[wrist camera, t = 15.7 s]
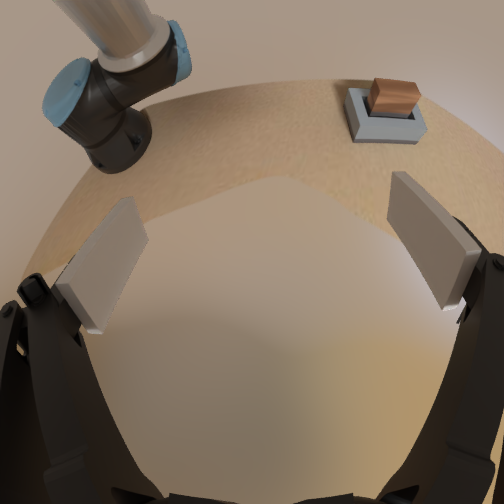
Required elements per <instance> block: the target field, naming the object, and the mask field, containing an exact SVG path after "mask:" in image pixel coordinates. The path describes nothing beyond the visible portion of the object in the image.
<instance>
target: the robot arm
mask: <svg viewBox="0 0 504 504" xmlns="http://www.w3.org/2000/svg"><path fill="white" fill-rule="evenodd" d="M53 1H54V2H55V3H56V4H57V5H58V6H59V7H60V8H61V9H62V10H63V11H64V12H65V14H66V15H67V16H69V18H70V19H71V20H72V21H73V22H74V23H75V24H76V25H77V26H78V27H79V28H80V29H81V30H82V31H83V32H84V33H85V34H86V35H87V36H88V37H89V38H90V39H91V40H92V42H93V43H94V44H96V46H97V47H98V48H99V50H98V58H97V59H95V60H93V61H92V62H90V60H89V59H86V58H79V59H76V60H74V61H72V62H71V63H69V64H68V65H67V66H66V67H65V68H64V69H63V70H61V72H60V73H59V74H58V75H57V76H56V77H55V79H54V80H53V81H52V83H51V85H50V86H49V88H48V90H47V92H46V94H45V97H44V100H43V106H42V109H43V114H44V115H45V117H46V118H47V119H48V120H49V121H50V122H51V123H52V124H53V125H54V126H55V127H58V128H59V129H60V130H61V131H63V132H64V133H65V134H67V135H68V136H69V137H71V138H72V139H73V140H75V141H76V142H77V143H79V144H80V145H81V146H82V147H84V149H85V151H86V153H87V155H88V156H89V158H90V160H91V162H92V164H93V165H94V166H95V167H96V168H98V169H99V170H100V171H102V172H104V173H107V174H115V173H119V172H122V171H124V170H126V169H128V168H129V167H131V166H132V165H133V164H135V163H136V162H137V161H138V160H139V159H140V158H141V156H142V155H143V154H144V152H145V151H146V149H147V147H148V145H149V143H150V139H151V134H152V130H151V125H150V123H149V121H148V120H147V118H146V117H145V116H144V115H143V114H142V113H141V112H139V111H137V110H135V109H133V108H131V107H130V106H132V105H133V104H135V103H137V102H139V101H141V100H143V99H145V98H147V97H149V96H151V95H153V94H155V93H157V92H159V91H161V90H163V89H166V88H168V87H170V86H174V85H175V84H176V83H177V82H179V81H181V80H183V79H185V78H187V77H188V76H189V75H190V73H191V71H192V64H191V58H190V54H189V51H188V49H187V44H186V40H185V38H184V35H183V33H182V30H181V28H180V26H179V24H178V23H177V22H176V21H174V20H171V21H166V20H165V19H164V18H163V17H161V16H159V15H155V14H151V12H150V10H149V8H148V6H147V4H146V2H145V0H53ZM387 220H388V222H389V223H390V225H391V226H392V228H393V229H394V231H395V232H396V234H397V235H398V237H399V238H400V240H401V241H402V243H403V244H404V246H405V247H406V249H407V250H408V252H409V254H410V255H411V257H412V258H413V260H414V262H415V263H416V265H417V267H418V268H419V270H420V272H421V273H422V275H423V277H424V278H425V280H426V282H427V284H428V285H429V287H430V289H431V291H432V293H433V295H434V297H435V298H436V300H437V302H438V304H439V306H440V308H441V310H442V311H445V310H449V309H454V308H457V306H458V304H459V302H460V300H461V298H462V296H463V298H464V299H465V301H466V305H465V307H464V309H463V311H462V313H461V315H460V317H459V319H458V320H457V323H458V324H459V322H460V326H459V330H458V333H457V337H456V341H455V344H454V348H453V351H452V354H451V357H450V361H449V364H448V367H447V370H446V372H445V375H444V378H443V381H442V384H441V386H440V389H439V391H438V394H437V396H436V399H435V401H434V404H433V406H432V408H431V411H430V413H429V415H428V417H427V420H426V422H425V424H424V426H423V428H422V430H421V432H420V434H419V436H418V438H417V440H416V442H415V444H414V446H413V448H412V449H411V451H410V453H409V455H408V457H407V458H406V460H405V462H404V463H403V465H402V466H401V467H400V469H399V470H398V471H397V472H396V473H395V474H394V475H393V476H392V477H391V478H390V480H389V481H388V482H387V484H386V485H385V486H384V488H383V489H382V491H381V492H380V493H379V495H378V496H377V498H376V499H371V498H366V497H359V496H353V493H350V494H345V495H339V496H333V497H325V498H317V499H308V500H304V501H301V502H298V503H294V504H482V503H483V501H484V498H485V496H486V494H487V492H488V490H489V487H490V485H491V483H492V480H493V477H494V474H495V464H494V463H493V462H492V461H491V460H490V454H491V450H492V448H493V445H494V442H495V438H496V435H497V432H498V428H499V425H500V421H501V417H502V414H503V409H504V256H502V255H500V254H496V253H491V254H490V253H489V252H488V251H487V249H486V248H485V247H484V246H483V245H482V243H481V242H480V241H479V240H478V239H477V238H476V237H475V236H474V234H473V233H472V232H471V231H470V230H469V229H468V228H467V227H466V225H465V224H464V223H463V222H461V221H460V220H458V219H457V218H455V217H454V216H451V215H450V214H449V212H448V211H447V210H446V209H445V208H444V207H443V206H442V205H441V204H440V203H439V202H438V201H437V200H436V199H435V198H433V197H432V196H431V195H430V194H429V193H428V192H427V191H426V190H425V189H424V188H423V187H422V186H421V185H420V184H419V183H417V182H416V181H415V180H414V179H413V178H412V177H411V176H410V175H408V174H407V173H406V172H392V179H391V189H390V198H389V207H388V214H387ZM147 242H148V237H147V234H146V232H145V229H144V226H143V223H142V220H141V218H140V215H139V212H138V209H137V206H136V203H135V200H134V197H133V196H132V197H127V198H122V199H121V200H120V201H119V202H118V203H117V204H116V205H115V206H114V207H113V209H112V210H111V211H110V212H109V213H108V214H107V216H106V217H105V218H104V219H103V220H102V222H101V223H100V224H99V225H98V226H97V228H96V229H95V230H94V231H93V233H92V234H91V235H90V236H89V238H88V239H87V240H86V241H85V243H84V244H83V245H82V247H81V248H80V249H79V251H78V252H77V253H76V254H75V255H74V256H73V257H72V259H71V260H70V262H69V263H68V265H67V266H66V267H65V269H64V271H62V273H61V274H60V276H59V277H58V279H57V280H56V282H55V283H54V284H53V286H52V287H51V289H50V288H49V287H48V285H47V284H46V282H45V280H44V279H43V277H42V275H41V274H40V273H34V274H32V275H30V276H28V277H27V278H26V279H24V280H23V282H22V283H21V284H20V285H19V287H18V289H17V293H18V294H19V296H20V297H21V299H22V300H23V302H24V303H25V304H26V306H27V307H25V308H21V307H20V306H19V304H18V303H17V301H15V300H13V301H10V302H8V303H6V304H5V305H4V306H3V307H2V309H1V311H0V504H237V503H234V502H227V501H220V500H214V499H206V498H198V497H190V496H184V495H177V494H172V493H170V494H169V497H167V498H164V497H163V496H162V494H161V493H160V491H159V490H158V489H157V487H156V486H155V485H154V484H153V483H152V482H151V481H150V480H149V479H148V478H147V477H146V476H144V474H143V473H142V472H141V471H140V469H139V468H138V466H137V464H136V462H135V461H134V459H133V457H132V455H131V454H130V451H129V450H128V448H127V446H126V444H125V442H124V440H123V438H122V436H121V434H120V432H119V430H118V428H117V426H116V424H115V421H114V419H113V417H112V415H111V413H110V410H109V408H108V406H107V403H106V401H105V399H104V396H103V394H102V391H101V388H100V386H99V383H98V381H97V378H96V375H95V372H94V370H93V367H92V364H91V361H90V358H89V355H88V352H87V348H86V345H85V342H84V339H83V336H82V334H81V333H80V331H79V328H80V326H81V324H82V325H83V326H84V327H85V329H86V330H87V331H88V333H93V334H103V332H104V329H105V327H106V325H107V323H108V320H109V318H110V316H111V314H112V312H113V309H114V307H115V305H116V303H117V301H118V299H119V297H120V295H121V293H122V290H123V288H124V286H125V284H126V282H127V280H128V278H129V276H130V274H131V272H132V270H133V268H134V266H135V265H136V263H137V261H138V259H139V257H140V255H141V253H142V251H143V249H144V248H145V246H146V244H147ZM460 320H461V321H460ZM17 344H18V345H19V346H20V347H21V348H22V349H23V351H24V355H21V354H20V353H19V352H18V351H17ZM492 504H504V437H503V445H502V453H501V459H500V464H499V470H498V475H497V479H496V485H495V489H494V494H493V500H492Z"/></svg>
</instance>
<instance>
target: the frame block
mask: <svg viewBox="0 0 504 504" xmlns="http://www.w3.org/2000/svg"><path fill="white" fill-rule="evenodd" d="M370 90H371V89H363V88H348V91H347V95H346V98H345V102H344V105H343V107H344V110H345V114H346V117H347V121H348V125H349V128H350V132H351V136H352V140H353V143H396V144H417V142H418V141H419V140H420V139H421V137H422V136H423V135H424V134H425V132H426V131H427V127H426V125H425V122H424V119H423V117H422V114H421V112H420V109H419V107H418V105H417V103H416V105H415V106H414V108H413V110H412V111H411V113H410V114H409V116H408V118H407V119H397V118H380V117H368V115H367V112H366V109H365V103H366V100H367V98H368V95H369V92H370Z"/></svg>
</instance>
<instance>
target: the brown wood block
mask: <svg viewBox="0 0 504 504" xmlns="http://www.w3.org/2000/svg"><path fill="white" fill-rule="evenodd" d="M420 97H421V94H420V92H419V90H418V88H417V86H416V83H414V82H406V81H399V80H391V79H381V78H375V79H374V82H373V84H372V87H371V90H370V92H369V95H368V98H367V100H366V103H365V109H366V112H367V115H368V117H380V118H397V119H407V118H408V116H409V114H410V113H411V111H412V110H413V108H414V106H415V105H416V103H417V102H418V100H419V98H420Z"/></svg>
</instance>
